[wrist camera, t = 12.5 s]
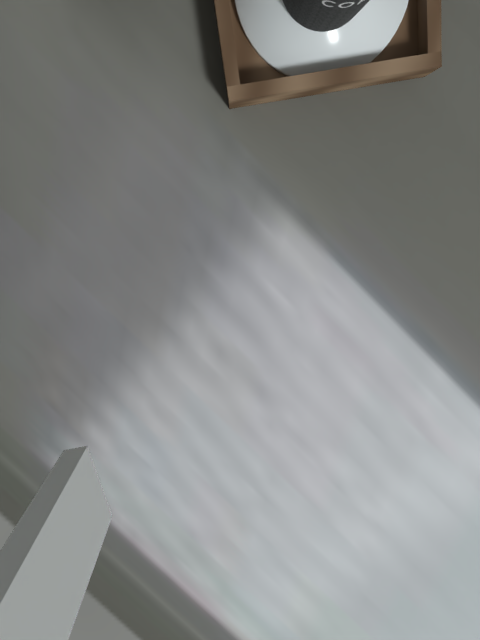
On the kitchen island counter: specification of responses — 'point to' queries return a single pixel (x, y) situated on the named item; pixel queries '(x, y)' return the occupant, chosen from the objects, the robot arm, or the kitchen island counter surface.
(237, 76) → the tray
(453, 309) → the kitchen island counter surface
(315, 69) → the saucer
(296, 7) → the coffee cup
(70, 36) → the kitchen island counter surface
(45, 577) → the robot arm
